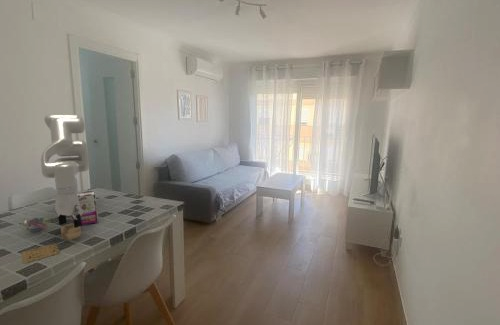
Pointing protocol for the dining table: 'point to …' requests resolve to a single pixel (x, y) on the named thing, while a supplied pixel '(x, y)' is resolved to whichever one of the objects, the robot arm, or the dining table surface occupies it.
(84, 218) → the candy bar box
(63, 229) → the oak block
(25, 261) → the cookie
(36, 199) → the dining table surface
